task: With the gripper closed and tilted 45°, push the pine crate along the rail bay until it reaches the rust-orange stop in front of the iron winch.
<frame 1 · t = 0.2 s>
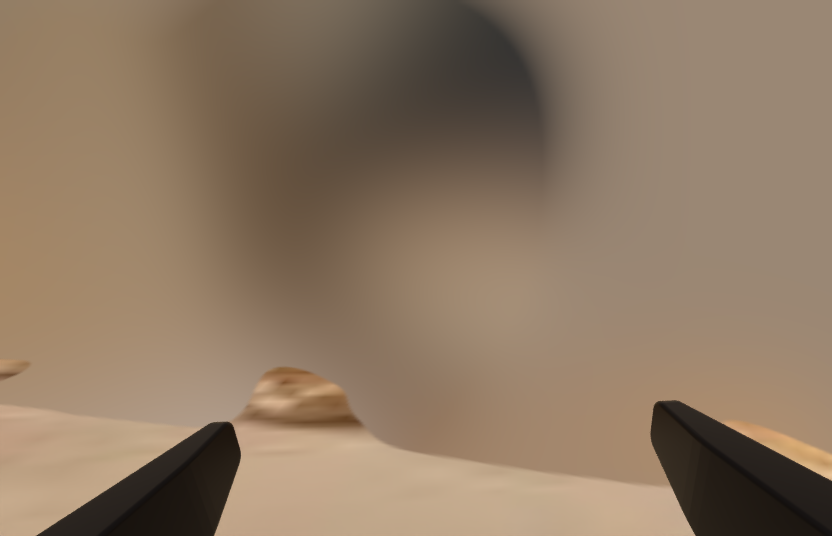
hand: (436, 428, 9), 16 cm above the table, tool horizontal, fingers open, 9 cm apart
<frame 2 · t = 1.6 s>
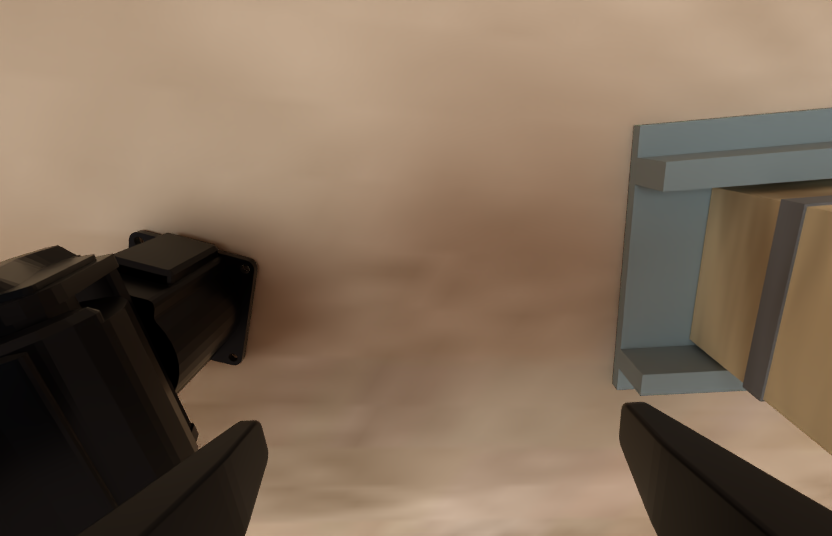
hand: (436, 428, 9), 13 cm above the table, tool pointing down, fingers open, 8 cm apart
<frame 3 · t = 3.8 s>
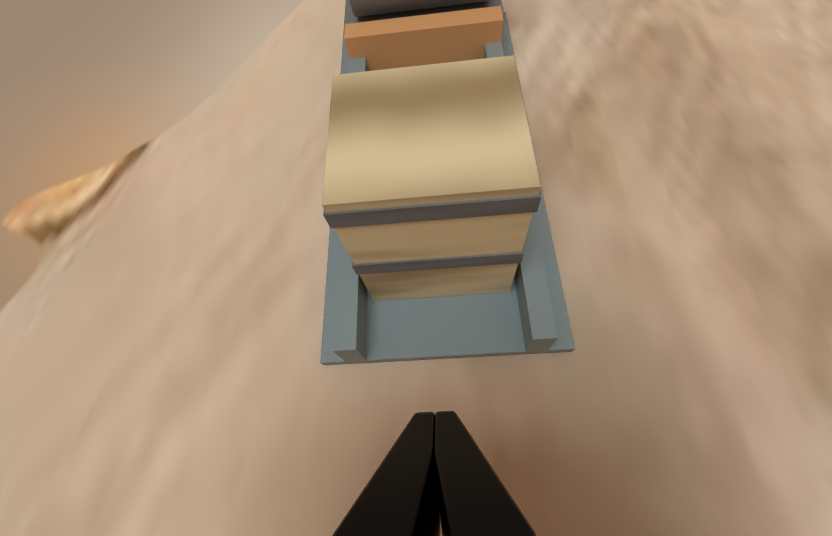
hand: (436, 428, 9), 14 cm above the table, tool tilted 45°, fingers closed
bay: (434, 197, 28), on the table
crate: (432, 197, 21), point 6 cm above the table, slide at 0.0 cm
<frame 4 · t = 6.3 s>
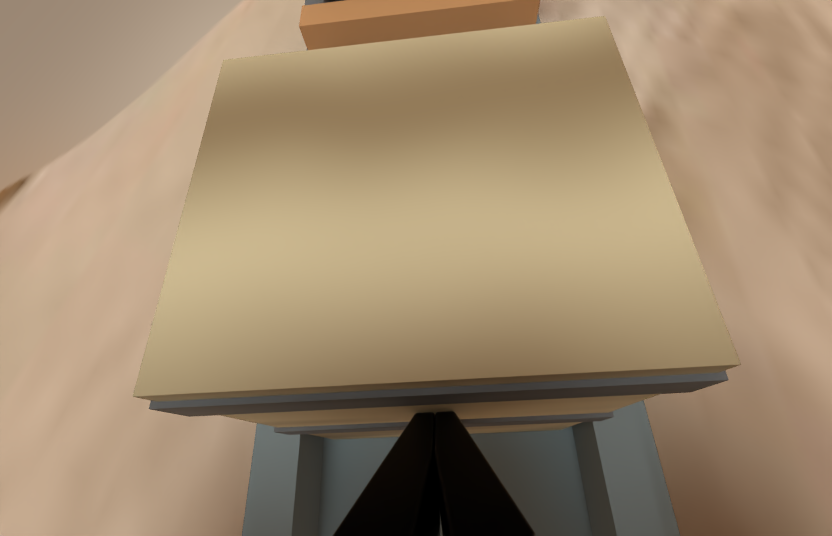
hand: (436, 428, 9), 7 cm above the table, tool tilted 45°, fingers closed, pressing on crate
bay: (435, 269, 18), on the table
crate: (431, 287, 11), point 6 cm above the table, slide at 0.7 cm, touching gripper
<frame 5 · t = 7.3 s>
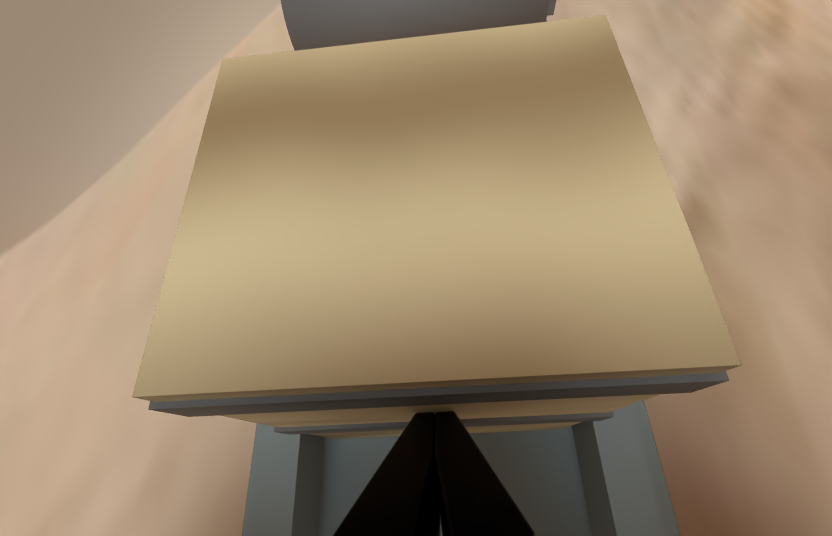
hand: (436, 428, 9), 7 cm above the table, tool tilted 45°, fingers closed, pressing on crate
bay: (444, 406, 15), on the table
crate: (431, 287, 11), point 6 cm above the table, slide at 6.5 cm, touching gripper
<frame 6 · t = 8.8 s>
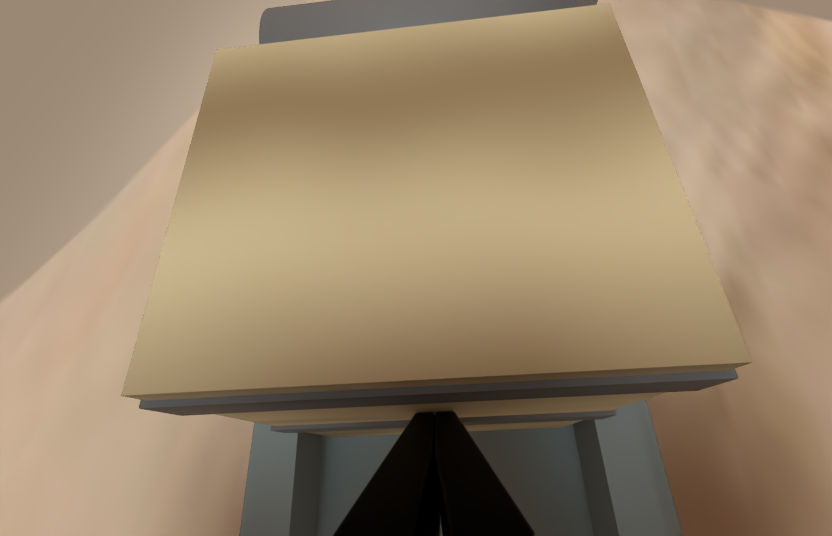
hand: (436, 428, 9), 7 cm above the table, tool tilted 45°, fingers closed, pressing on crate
crate: (430, 283, 11), point 6 cm above the table, slide at 10.7 cm, touching gripper
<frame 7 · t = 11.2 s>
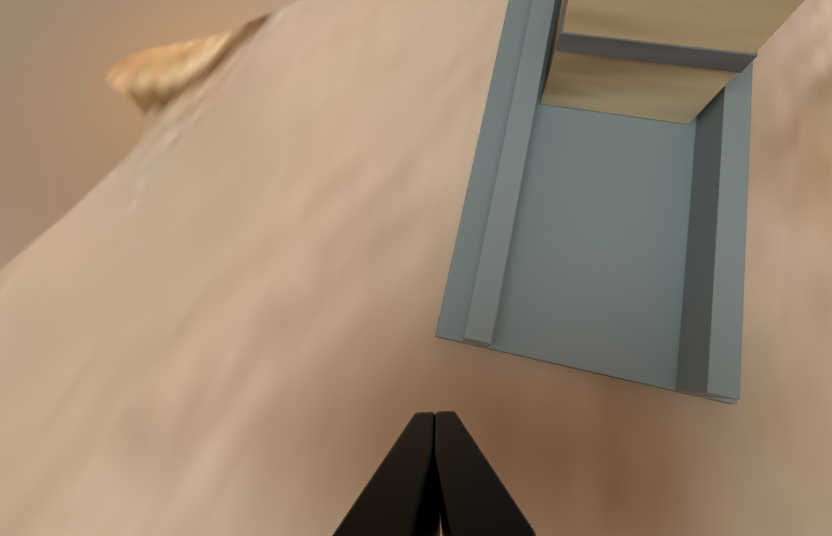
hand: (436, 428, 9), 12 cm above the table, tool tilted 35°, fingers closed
bay: (601, 170, 22), on the table
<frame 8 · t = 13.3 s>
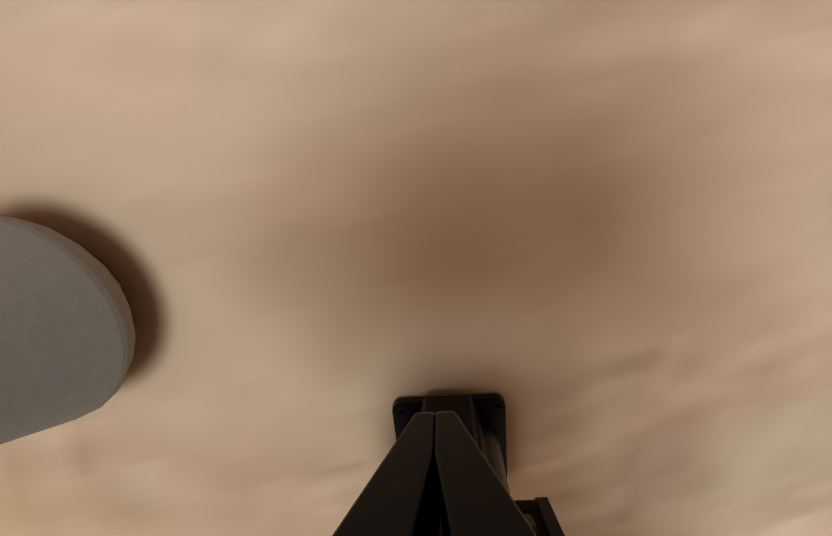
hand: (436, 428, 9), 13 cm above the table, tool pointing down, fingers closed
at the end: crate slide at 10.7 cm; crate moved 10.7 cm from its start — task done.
